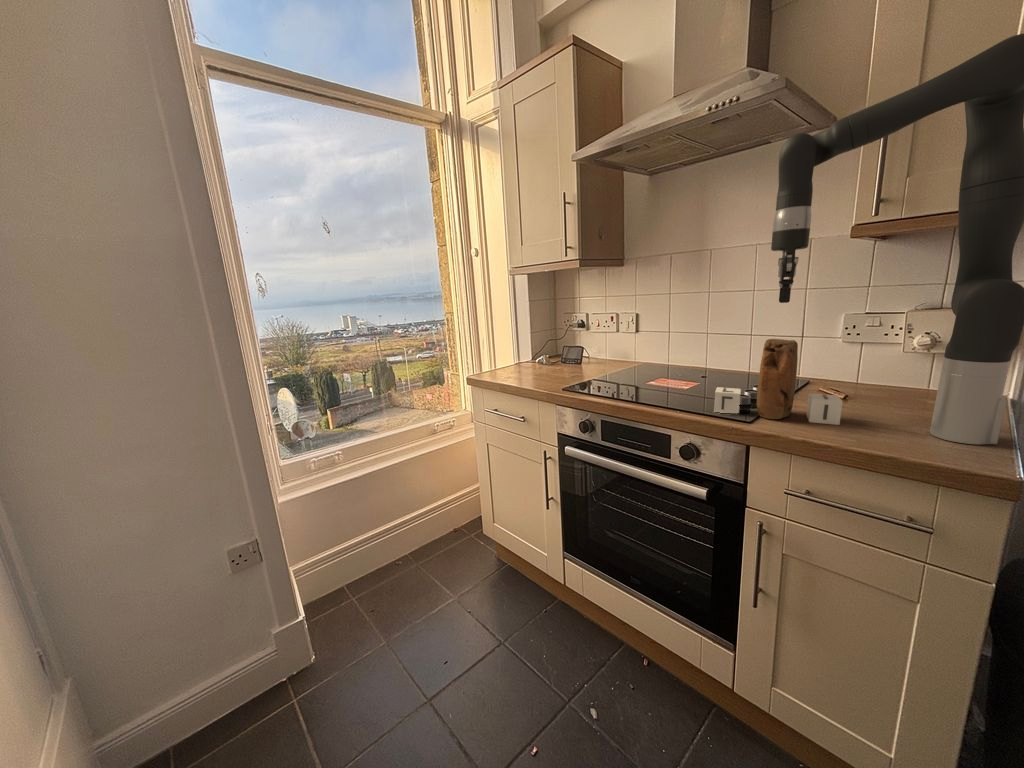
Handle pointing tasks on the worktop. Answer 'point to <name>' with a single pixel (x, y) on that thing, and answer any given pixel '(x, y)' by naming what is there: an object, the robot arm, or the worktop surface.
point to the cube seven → (727, 400)
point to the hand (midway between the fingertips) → (784, 302)
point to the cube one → (824, 408)
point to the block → (777, 378)
